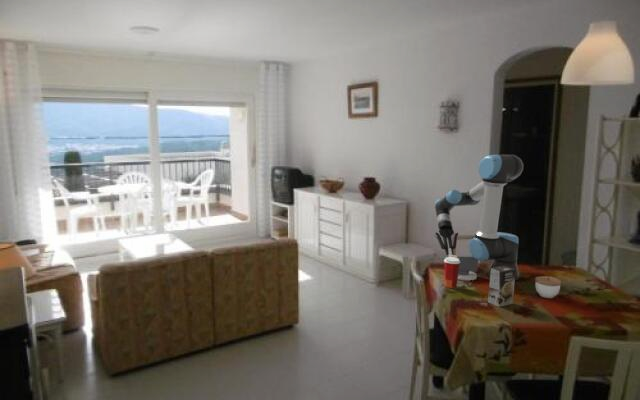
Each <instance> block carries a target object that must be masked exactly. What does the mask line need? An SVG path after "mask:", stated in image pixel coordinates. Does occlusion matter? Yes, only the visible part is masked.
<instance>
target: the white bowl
mask: <svg viewBox="0 0 640 400" xmlns="http://www.w3.org/2000/svg"><path fill="white" fill-rule="evenodd" d="M534 279H535V284H534V285H535V290H536V293H538V294H539V296H540V297H541V298H546V299H553V298H554V297H556V296H557V295H559V292H560V291H561V285H562V281H561V280H560V279H558V278H554V277H551V276H549V275H548V276H543V275H542V276H536V277H535V278H534Z"/></svg>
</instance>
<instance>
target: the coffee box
mask: <svg viewBox="0 0 640 400" xmlns="http://www.w3.org/2000/svg"><path fill="white" fill-rule="evenodd" d="M515 272H516V269H513V268H510V267H506V266H501V267H495V268H491V274H490V276H489V277H490V278H489V287H488V288H489V289H488V297H487V298H488V300H487V302H488V303H489V304H491V305H494V306H496V307H504V306H508V305H512V304H513V303H514V292H515V283H516V282H515V281H516V280H515Z"/></svg>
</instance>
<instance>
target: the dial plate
mask: <svg viewBox="0 0 640 400" xmlns="http://www.w3.org/2000/svg"><path fill="white" fill-rule="evenodd" d="M477 278H478V274H477V273H476V272H475V271H469V274H468V275H461V274H458V280H457V281H464V282H465V281H466V282H467V281H469V282H471V280H472V281H475V280H477Z"/></svg>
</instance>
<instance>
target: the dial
mask: <svg viewBox="0 0 640 400" xmlns="http://www.w3.org/2000/svg"><path fill="white" fill-rule="evenodd" d="M450 257H455V258H458V259H459V260H460V264H459V273H458V274H461V275H468V274H469V271H472V272H478V267H479V266H478V264H479V260H476V259H475V258H474V257H473V256H472V255H458V254H457V255H455V254H453V255H450Z"/></svg>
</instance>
